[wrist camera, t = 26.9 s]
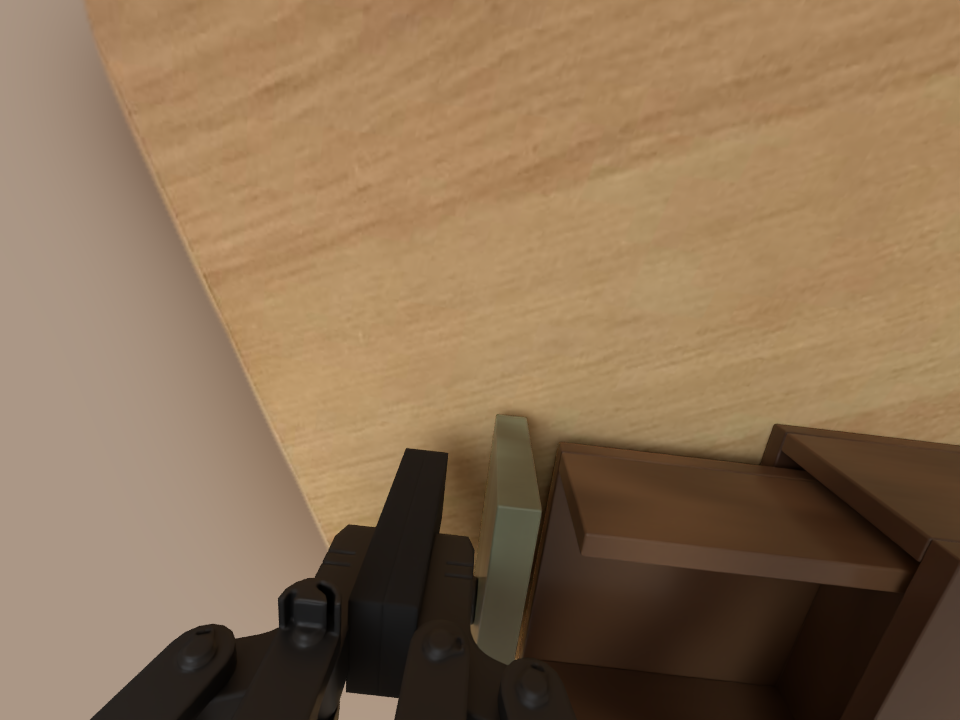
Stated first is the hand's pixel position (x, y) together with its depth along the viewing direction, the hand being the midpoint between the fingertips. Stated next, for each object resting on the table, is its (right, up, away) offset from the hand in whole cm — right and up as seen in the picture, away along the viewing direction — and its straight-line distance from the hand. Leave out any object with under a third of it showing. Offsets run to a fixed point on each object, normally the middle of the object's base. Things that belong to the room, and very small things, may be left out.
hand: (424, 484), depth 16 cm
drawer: (+8, -4, +3) cm, 10 cm away
